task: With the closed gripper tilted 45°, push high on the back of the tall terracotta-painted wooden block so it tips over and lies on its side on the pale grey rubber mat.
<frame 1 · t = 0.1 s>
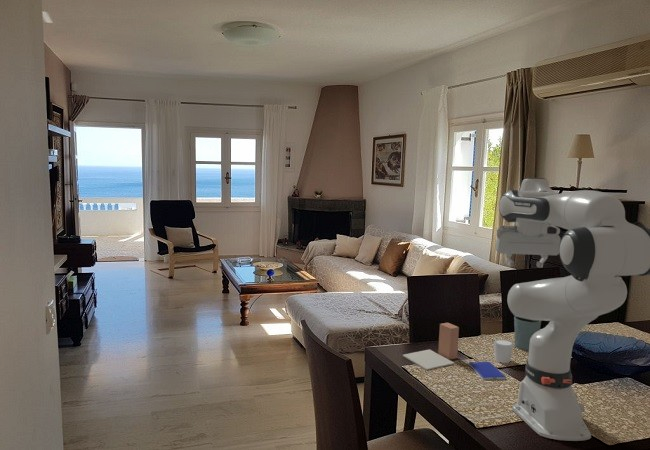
hand: (525, 266, 159), 39 cm above the table, tool pointing down, fingers open, 8 cm apart
block: (447, 355, 181), on the table
mat: (428, 359, 177), on the table
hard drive: (486, 373, 168), on the table
teal bucket: (525, 347, 192), on the table
shot glass: (502, 360, 178), on the table
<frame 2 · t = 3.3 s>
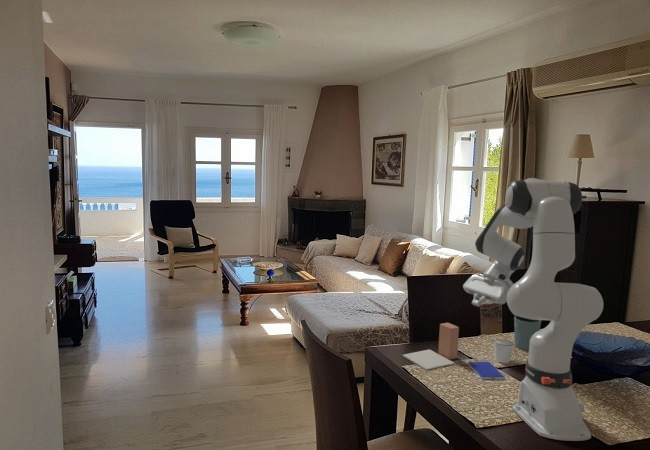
hand: (474, 304, 184), 19 cm above the table, tool tilted 45°, fingers closed
nothing on the table moved.
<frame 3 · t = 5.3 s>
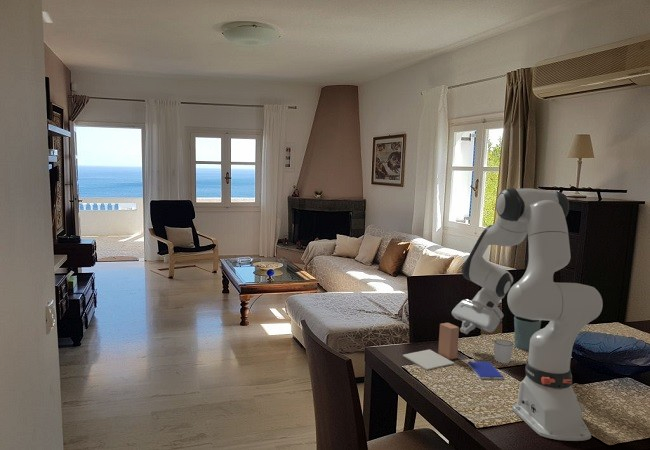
hand: (463, 332, 183), 8 cm above the table, tool tilted 45°, fingers closed
nothing on the table moved.
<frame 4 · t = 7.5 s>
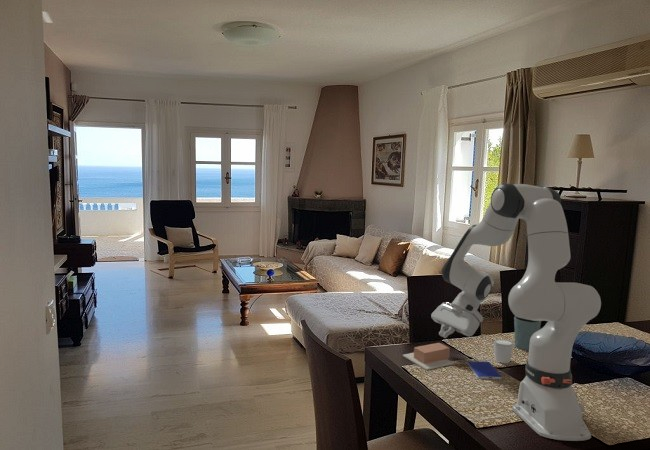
hand: (441, 336, 178), 8 cm above the table, tool tilted 45°, fingers closed
block: (444, 350, 180), point 2 cm above the table, tilted 90°, touching mat
everything else where it was.
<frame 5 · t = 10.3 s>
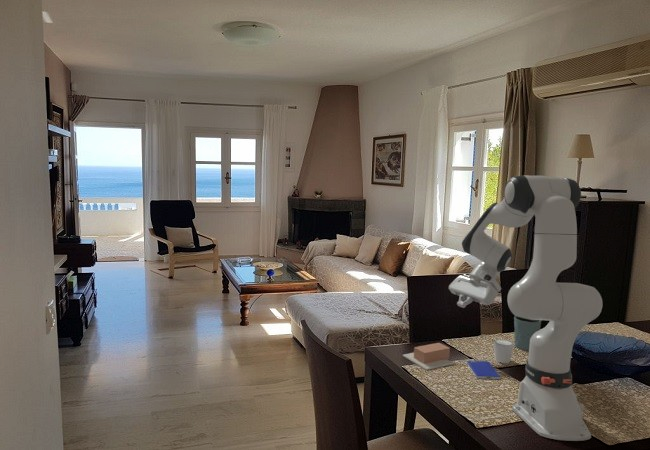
hand: (460, 306, 181), 19 cm above the table, tool tilted 45°, fingers closed
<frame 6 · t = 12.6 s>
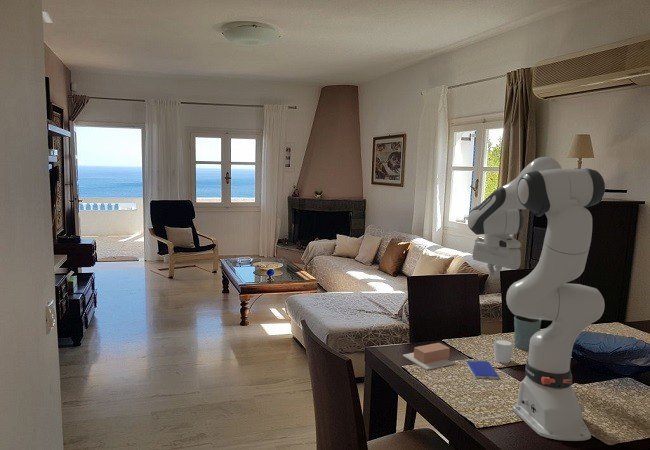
hand: (494, 276, 179), 31 cm above the table, tool pointing down, fingers closed
at the end: block tilted 90°; block touching mat; the gripper is holding nothing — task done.
